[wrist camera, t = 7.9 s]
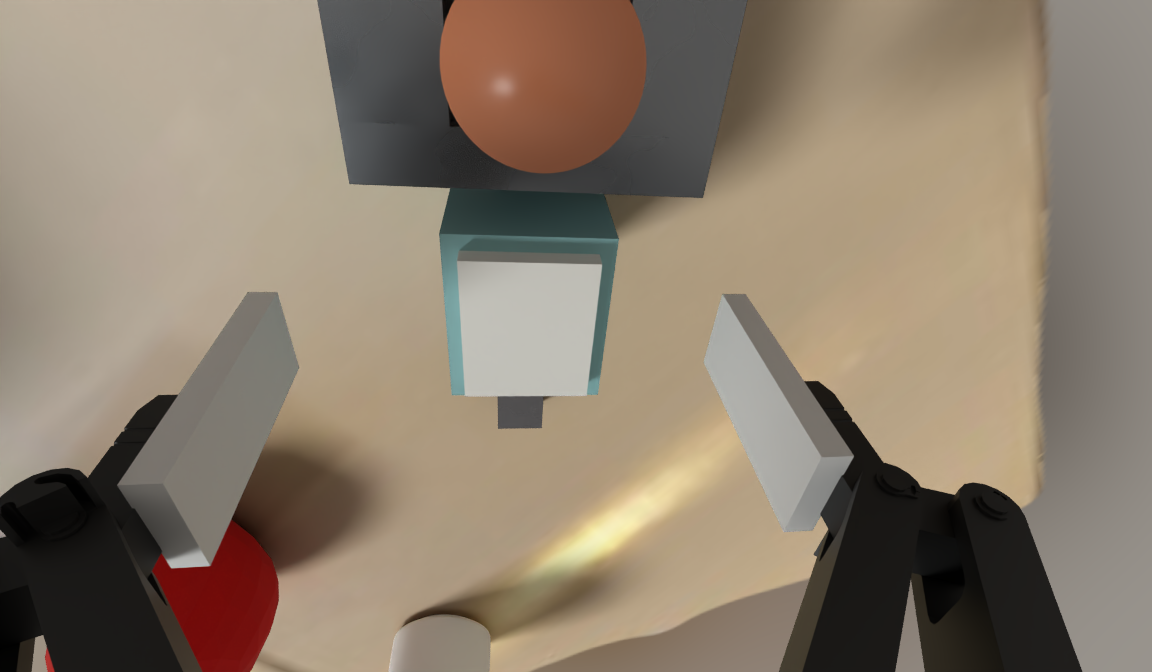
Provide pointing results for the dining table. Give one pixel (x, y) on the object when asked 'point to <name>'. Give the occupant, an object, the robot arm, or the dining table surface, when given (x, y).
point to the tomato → (223, 602)
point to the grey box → (451, 160)
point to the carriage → (526, 290)
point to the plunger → (543, 77)
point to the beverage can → (441, 646)
